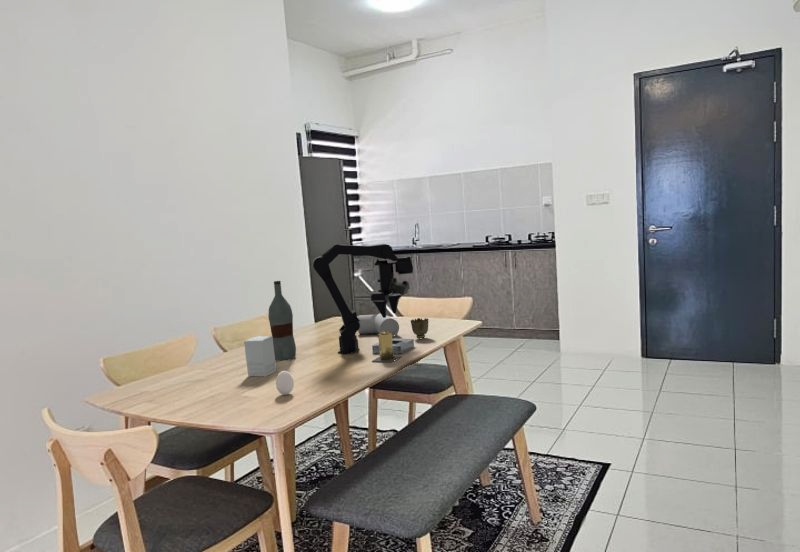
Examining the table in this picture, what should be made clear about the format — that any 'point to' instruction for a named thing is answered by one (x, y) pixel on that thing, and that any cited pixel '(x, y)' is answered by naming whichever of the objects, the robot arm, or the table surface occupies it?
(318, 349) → the table surface
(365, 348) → the table surface
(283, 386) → the egg
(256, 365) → the supplement box
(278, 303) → the bottle
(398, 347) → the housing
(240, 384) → the table surface
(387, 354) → the brass cylinder
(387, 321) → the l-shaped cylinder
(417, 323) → the cup
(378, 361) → the mat
